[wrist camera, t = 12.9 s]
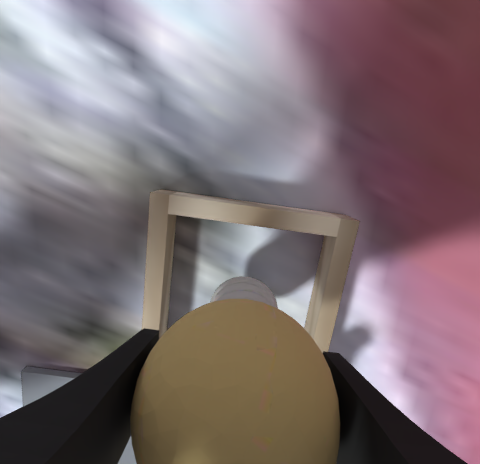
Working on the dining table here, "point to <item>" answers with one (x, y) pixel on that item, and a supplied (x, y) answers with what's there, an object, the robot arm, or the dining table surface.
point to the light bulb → (236, 387)
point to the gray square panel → (48, 380)
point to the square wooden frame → (256, 214)
